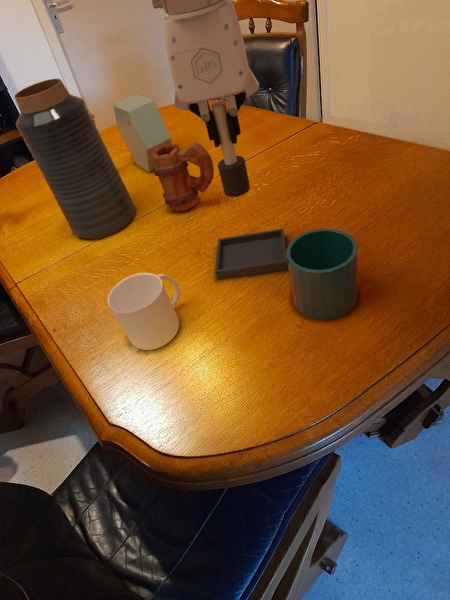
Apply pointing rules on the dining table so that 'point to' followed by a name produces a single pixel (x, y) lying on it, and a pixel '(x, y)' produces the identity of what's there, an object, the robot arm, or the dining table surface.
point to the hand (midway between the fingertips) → (226, 140)
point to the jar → (323, 273)
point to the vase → (73, 159)
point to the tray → (251, 254)
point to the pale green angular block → (141, 129)
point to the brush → (229, 157)
